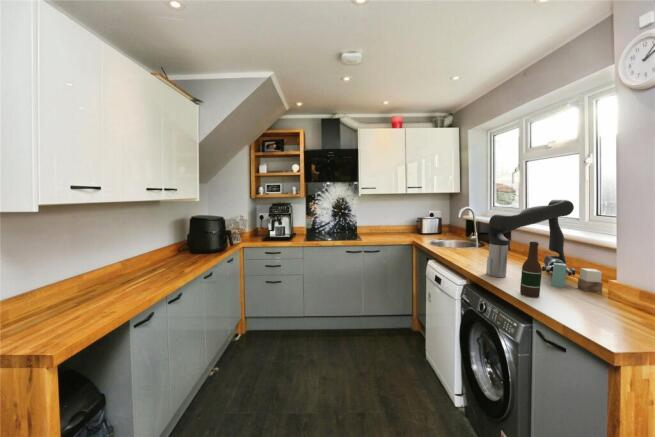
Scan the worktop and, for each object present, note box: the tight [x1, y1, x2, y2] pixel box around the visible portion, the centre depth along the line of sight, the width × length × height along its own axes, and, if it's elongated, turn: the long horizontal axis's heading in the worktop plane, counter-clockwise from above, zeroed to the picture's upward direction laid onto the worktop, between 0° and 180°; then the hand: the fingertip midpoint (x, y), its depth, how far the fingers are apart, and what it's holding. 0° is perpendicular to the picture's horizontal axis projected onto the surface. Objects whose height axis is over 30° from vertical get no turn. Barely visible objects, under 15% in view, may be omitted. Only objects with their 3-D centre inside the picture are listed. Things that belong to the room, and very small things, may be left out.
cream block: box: [579, 267, 603, 282], centre depth 163 cm, size 6×6×5 cm
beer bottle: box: [519, 241, 543, 299], centre depth 151 cm, size 8×8×24 cm
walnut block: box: [577, 277, 604, 294], centre depth 164 cm, size 7×7×5 cm
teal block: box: [551, 263, 568, 288], centre depth 170 cm, size 5×5×11 cm
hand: (559, 272), depth 170 cm, fingers open, 8 cm apart
